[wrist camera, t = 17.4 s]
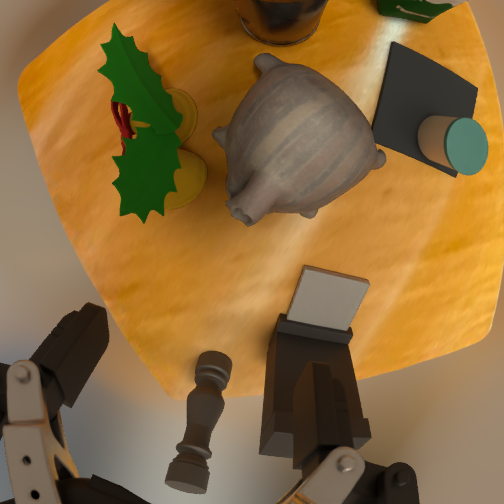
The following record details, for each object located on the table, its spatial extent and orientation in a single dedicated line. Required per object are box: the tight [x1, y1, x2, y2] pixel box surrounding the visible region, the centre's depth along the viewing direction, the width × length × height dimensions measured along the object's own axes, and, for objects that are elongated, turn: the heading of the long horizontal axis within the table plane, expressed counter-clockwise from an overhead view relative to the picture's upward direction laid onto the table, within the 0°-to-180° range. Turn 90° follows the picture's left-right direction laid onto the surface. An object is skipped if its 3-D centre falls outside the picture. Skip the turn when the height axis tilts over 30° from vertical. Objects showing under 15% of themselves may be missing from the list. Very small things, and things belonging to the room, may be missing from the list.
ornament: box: [97, 23, 207, 224], centre depth 27 cm, size 21×8×15 cm, turn 15°
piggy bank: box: [212, 53, 386, 227], centre depth 29 cm, size 18×16×14 cm
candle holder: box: [165, 351, 232, 494], centre depth 39 cm, size 6×6×25 cm
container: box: [418, 116, 488, 175], centre depth 26 cm, size 6×6×8 cm
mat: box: [371, 41, 478, 178], centre depth 28 cm, size 14×14×1 cm
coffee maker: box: [259, 265, 371, 458], centre depth 35 cm, size 17×12×20 cm
